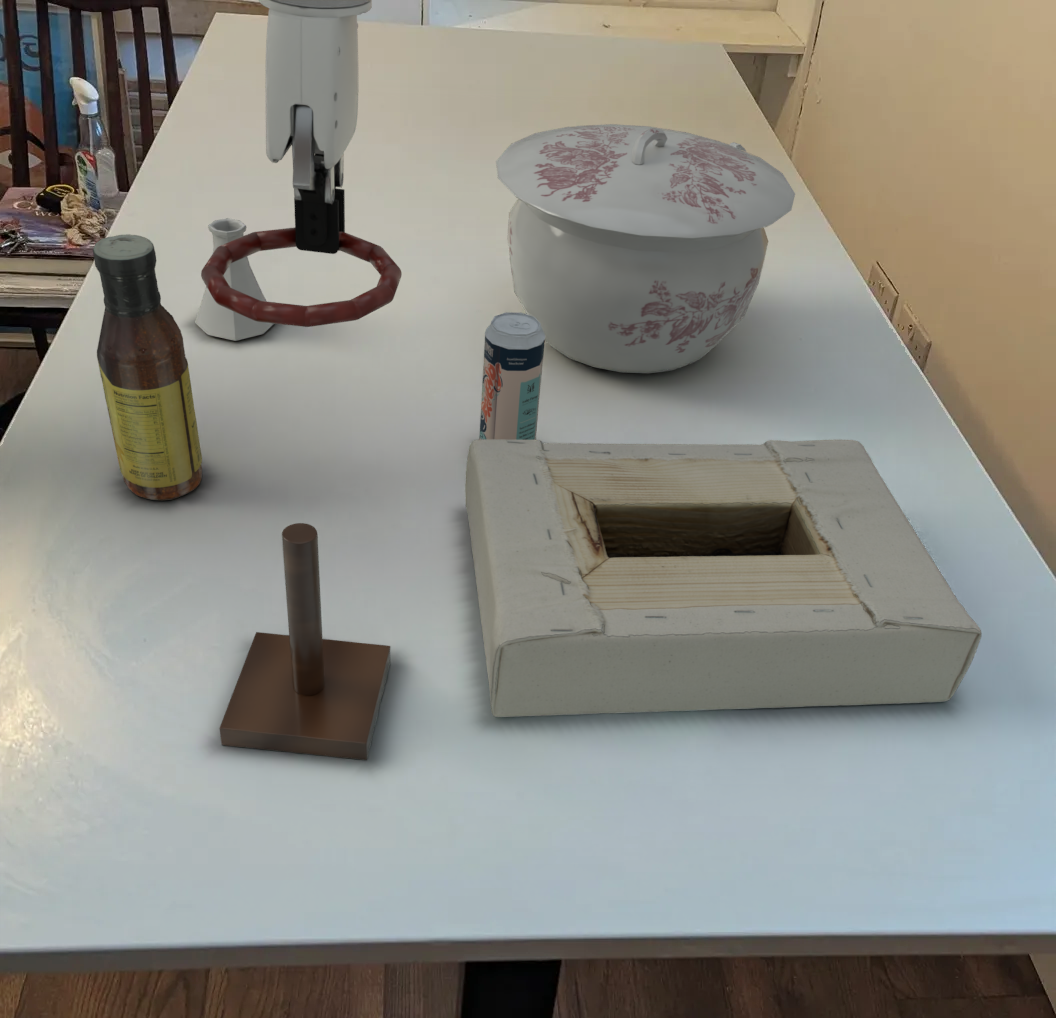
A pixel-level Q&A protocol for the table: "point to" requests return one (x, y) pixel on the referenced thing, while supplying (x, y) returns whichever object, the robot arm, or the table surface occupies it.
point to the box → (703, 580)
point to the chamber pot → (637, 240)
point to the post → (306, 674)
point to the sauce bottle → (145, 375)
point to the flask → (239, 278)
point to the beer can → (511, 377)
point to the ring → (291, 312)
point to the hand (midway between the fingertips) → (320, 243)
